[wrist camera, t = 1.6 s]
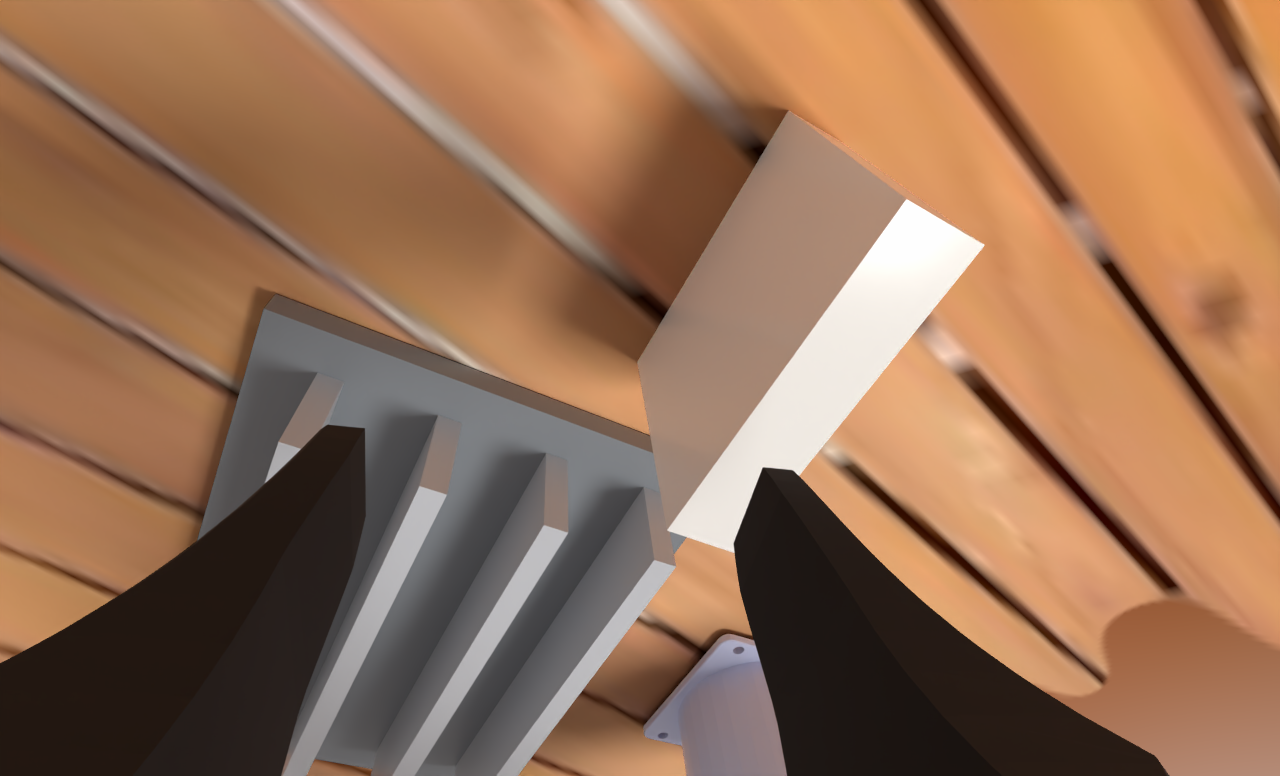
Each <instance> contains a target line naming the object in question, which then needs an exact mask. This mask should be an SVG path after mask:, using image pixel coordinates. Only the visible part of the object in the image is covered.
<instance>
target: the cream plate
mask: <svg viewBox="0 0 1280 776" xmlns="http://www.w3.org/2000/svg"><path fill="white" fill-rule="evenodd" d="M984 246H985V245H984V244H983V243H981V242H980V241H978V240H977V239H976V238H974V237H973V236H971V235H970V234H969V233H967V232H966V231H965V230H963V229H962V228H960V227H959V226H958V225H956V224H955V223H953V222H952V221H951V220H949V219H948V218H947V217H945V216H944V215H942V214H941V213H940V212H938V211H937V210H935V209H934V208H933V207H931V206H930V205H929V204H927V203H926V202H924V201H923V200H922V199H920V198H919V197H917V196H916V195H915V194H913V193H912V192H911V191H909V190H908V189H906V188H905V187H904V186H902V185H901V184H900V183H898V182H897V181H895V180H894V179H893V178H891V177H890V176H888V175H887V174H886V173H884V172H883V171H882V170H880V169H879V168H877V167H876V166H875V165H873V164H872V163H870V162H869V161H868V160H866V159H865V158H864V157H862V156H861V155H859V154H858V153H857V152H855V151H854V150H852V149H851V148H850V147H848V146H847V145H846V144H844V143H842V142H841V141H839V140H837V139H836V138H834V137H832V136H831V135H829V134H827V133H826V132H824V131H822V130H821V129H819V128H817V127H816V126H814V125H812V124H811V123H809V122H807V121H806V120H804V119H802V118H801V117H799V116H797V115H796V114H794V113H792V112H791V111H789V110H788V112H787V114H786V115H785V117H784V119H783V120H782V122H781V124H780V125H779V127H778V129H777V130H776V132H775V134H774V135H773V137H772V139H771V140H770V142H769V143H768V145H767V147H766V148H765V150H764V152H763V153H762V155H761V157H760V158H759V160H758V162H757V163H756V165H755V167H754V168H753V170H752V172H751V173H750V175H749V177H748V178H747V180H746V182H745V183H744V185H743V187H742V188H741V190H740V192H739V193H738V195H737V197H736V198H735V200H734V202H733V203H732V205H731V207H730V208H729V210H728V212H727V213H726V215H725V217H724V218H723V220H722V222H721V223H720V225H719V227H718V228H717V230H716V232H715V233H714V235H713V237H712V238H711V240H710V242H709V243H708V245H707V247H706V248H705V250H704V252H703V253H702V255H701V257H700V258H699V260H698V262H697V263H696V265H695V267H694V268H693V270H692V272H691V273H690V275H689V277H688V278H687V280H686V282H685V283H684V285H683V287H682V288H681V290H680V292H679V293H678V295H677V297H676V298H675V300H674V302H673V303H672V305H671V306H670V308H669V310H668V311H667V313H666V315H665V316H664V318H663V320H662V321H661V323H660V325H659V326H658V328H657V330H656V331H655V333H654V335H653V336H652V338H651V340H650V341H649V343H648V345H647V346H646V348H645V350H644V351H643V353H642V355H641V356H640V358H639V360H638V361H637V364H638V370H639V376H640V381H641V387H642V393H643V398H644V404H645V410H646V415H647V421H648V426H649V432H650V438H651V443H652V449H653V455H654V460H655V466H656V472H657V477H658V483H659V488H660V494H661V500H662V505H663V511H664V517H665V522H666V528H667V531H670V532H673V533H676V534H679V535H682V536H685V537H688V538H691V539H694V540H697V541H700V542H703V543H706V544H709V545H712V546H715V547H718V548H721V549H724V550H727V551H730V552H733V553H735V552H734V544H733V543H734V541H735V538H736V535H737V533H738V530H739V528H740V525H741V522H742V520H743V517H744V515H745V512H746V509H747V507H748V504H749V502H750V499H751V496H752V494H753V491H754V489H755V486H756V484H757V481H758V478H759V476H760V473H761V471H762V468H763V467H767V468H777V469H787V470H793V471H794V472H795V473H796V474H797V475H798V476H799V475H800V474H801V473H802V471H803V470H804V469H805V468H806V466H807V465H808V464H809V463H810V461H811V460H812V459H813V458H814V456H815V455H816V454H817V453H818V451H819V450H820V449H821V448H822V447H823V445H824V444H825V443H826V442H827V440H828V439H829V438H830V437H831V435H832V434H833V433H834V432H835V430H836V429H837V428H838V427H839V425H840V424H841V423H842V422H843V420H844V419H845V418H846V417H847V416H848V414H849V413H850V412H851V411H852V409H853V408H854V407H855V406H856V404H857V403H858V402H859V401H860V399H861V398H862V397H863V396H864V394H865V393H866V392H867V391H868V389H869V388H870V387H871V386H872V384H873V383H874V382H875V381H876V380H877V378H878V377H879V376H880V375H881V373H882V372H883V371H884V370H885V368H886V367H887V366H888V365H889V363H890V362H891V361H892V360H893V358H894V357H895V356H896V355H897V353H898V352H899V351H900V350H901V349H902V347H903V346H904V345H905V344H906V342H907V341H908V340H909V339H910V337H911V336H912V335H913V334H914V332H915V331H916V330H917V329H918V327H919V326H920V325H921V324H922V322H923V321H924V320H925V319H926V317H927V316H928V315H929V314H930V313H931V311H932V310H933V309H934V308H935V306H936V305H937V304H938V303H939V301H940V300H941V299H942V298H943V296H944V295H945V294H946V293H947V291H948V290H949V289H950V288H951V286H952V285H953V284H954V283H955V282H956V280H957V279H958V278H959V277H960V275H961V274H962V273H963V272H964V270H965V269H966V268H967V267H968V265H969V264H970V263H971V262H972V260H973V259H974V258H975V257H976V255H977V254H978V253H979V252H980V250H981V249H982V248H983V247H984Z"/></svg>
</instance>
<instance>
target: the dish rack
mask: <svg viewBox="0 0 1280 776" xmlns="http://www.w3.org/2000/svg"><path fill="white" fill-rule="evenodd" d="M326 425H337V426H348V427H358V428H365V473H366V518H365V522H364V526H363V530H362V534H361V539H360V543H359V547H358V551H357V555H356V558H355V562H354V566H353V570H352V572H351V575H350V578H349V581H348V583H347V586H346V588H345V591H344V594H343V596H342V599H341V602H340V604H339V607H338V610H337V612H336V615H335V617H334V620H333V622H332V625H331V628H330V630H329V633H328V635H327V638H326V641H325V643H324V646H323V648H322V651H321V654H320V656H319V659H318V661H317V664H316V666H315V669H314V672H313V674H312V677H311V679H310V682H309V685H308V687H307V690H306V693H305V696H304V699H303V702H302V705H301V708H300V711H299V714H298V717H297V721H296V724H295V728H294V731H293V735H292V739H291V742H290V746H289V750H288V753H287V757H286V760H285V764H284V768H283V771H282V775H281V776H306V775H307V773H308V771H309V769H310V767H311V765H312V763H313V761H314V759H318V760H324V761H329V762H335V763H341V764H346V765H352V766H358V767H364V768H369V769H372V773H371V776H518V775H519V773H520V772H521V771H522V769H523V768H524V767H525V765H526V764H527V763H528V761H529V760H530V759H531V757H532V756H533V755H534V754H535V752H536V751H537V750H538V748H539V747H540V746H541V744H542V743H543V742H544V740H545V739H546V738H547V736H548V735H549V734H550V732H551V731H552V730H553V728H554V727H555V726H556V725H557V723H558V722H559V721H560V719H561V718H562V717H563V715H564V714H565V713H566V711H567V710H568V709H569V707H570V706H571V705H572V703H573V702H574V701H575V699H576V698H577V697H578V695H579V694H580V693H581V692H582V690H583V689H584V688H585V686H586V685H587V684H588V682H589V681H590V680H591V678H592V677H593V676H594V674H595V673H596V672H597V670H598V669H599V668H600V666H601V665H602V664H603V663H604V661H605V660H606V659H607V657H608V656H609V655H610V653H611V652H612V651H613V649H614V648H615V647H616V645H617V644H618V643H619V641H620V640H621V639H622V637H623V636H624V635H625V633H626V632H627V631H628V630H629V628H630V627H631V626H632V624H633V623H634V622H635V620H636V619H637V618H638V616H639V615H640V614H641V612H642V611H643V610H644V608H645V607H646V606H647V604H648V603H649V602H650V601H651V599H652V598H653V597H654V595H655V594H656V593H657V591H658V590H659V589H660V587H661V586H662V585H663V583H664V582H665V581H666V579H667V578H668V577H669V575H670V574H671V573H672V571H673V570H674V569H675V568H676V563H675V558H674V553H675V552H676V551H677V549H678V548H679V547H680V545H681V544H682V543H683V541H684V540H685V539H686V537H685V536H682V535H679V534H676V533H673V532H670V531H667V528H666V522H665V517H664V511H663V505H662V500H661V494H660V488H659V483H658V477H657V472H656V466H655V460H654V455H653V449H652V443H651V438H650V436H649V435H646V434H643V433H641V432H638V431H636V430H633V429H630V428H628V427H625V426H622V425H620V424H617V423H615V422H612V421H609V420H607V419H604V418H601V417H599V416H596V415H593V414H591V413H588V412H586V411H583V410H580V409H578V408H575V407H572V406H570V405H567V404H565V403H562V402H559V401H557V400H554V399H551V398H549V397H546V396H543V395H541V394H538V393H536V392H533V391H530V390H528V389H525V388H522V387H520V386H517V385H515V384H512V383H509V382H507V381H504V380H501V379H499V378H496V377H493V376H491V375H488V374H486V373H483V372H480V371H478V370H475V369H472V368H470V367H467V366H465V365H462V364H459V363H457V362H454V361H451V360H449V359H446V358H443V357H441V356H438V355H436V354H433V353H430V352H428V351H425V350H422V349H420V348H417V347H414V346H412V345H409V344H407V343H404V342H401V341H399V340H396V339H393V338H391V337H388V336H386V335H383V334H380V333H378V332H375V331H372V330H370V329H367V328H364V327H362V326H359V325H357V324H354V323H351V322H349V321H346V320H343V319H341V318H338V317H336V316H333V315H330V314H328V313H325V312H322V311H320V310H317V309H314V308H312V307H309V306H307V305H304V304H301V303H299V302H296V301H293V300H291V299H288V298H286V297H283V296H280V295H278V294H275V295H274V296H273V298H272V299H271V300H270V301H269V303H268V304H267V305H266V306H265V308H264V309H263V313H262V316H261V320H260V323H259V327H258V330H257V334H256V337H255V341H254V344H253V348H252V351H251V355H250V358H249V362H248V365H247V369H246V372H245V375H244V379H243V382H242V386H241V389H240V393H239V396H238V400H237V403H236V407H235V410H234V414H233V417H232V421H231V424H230V428H229V431H228V435H227V438H226V442H225V445H224V449H223V452H222V456H221V459H220V463H219V466H218V470H217V473H216V476H215V480H214V483H213V487H212V490H211V494H210V497H209V501H208V504H207V508H206V511H205V515H204V518H203V522H202V525H201V529H200V532H199V536H198V539H197V540H199V539H200V538H201V537H202V536H204V535H205V534H206V533H207V532H209V531H210V530H211V529H212V528H214V527H215V526H216V525H217V524H218V523H220V522H221V521H222V520H223V519H225V518H226V517H227V516H228V515H230V514H231V513H232V512H233V511H234V510H236V509H237V508H238V507H239V506H240V505H241V504H243V503H244V502H245V501H246V500H247V499H248V498H249V497H250V496H252V495H253V494H254V493H255V492H256V491H257V490H258V489H259V488H260V487H262V486H263V485H264V484H265V483H266V482H267V481H268V480H269V479H270V478H271V477H273V476H274V475H275V474H276V473H277V472H278V471H279V470H280V469H281V468H282V467H283V466H284V465H285V464H286V463H287V462H288V461H289V460H290V459H291V458H292V457H293V456H294V455H295V454H297V453H298V452H299V451H300V450H301V449H302V448H303V447H304V446H305V444H306V443H307V442H308V441H309V440H310V439H311V438H312V437H313V436H314V435H315V434H316V433H317V432H318V431H319V430H320V429H322V428H323V427H324V426H326Z"/></svg>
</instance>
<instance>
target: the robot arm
mask: <svg viewBox="0 0 1280 776" xmlns="http://www.w3.org/2000/svg"><path fill="white" fill-rule="evenodd" d="M365 518H366V473H365V428H358V427H348V426H337V425H326V426H324V427H323V428H322V429H320V430H319V431H318V432H317V433H316V434H315V435H314V436H313V437H312V438H311V439H310V440H309V441H308V442H307V443H306V444H305V446H304V447H303V448H302V449H301V450H300V451H299V452H298V453H297V454H295V455H294V456H293V457H292V458H291V459H290V460H289V461H288V462H287V463H286V464H285V465H284V466H283V467H282V468H281V469H280V470H279V471H278V472H277V473H276V474H275V475H274V476H273V477H271V478H270V479H269V480H268V481H267V482H266V483H265V484H264V485H263V486H262V487H260V488H259V489H258V490H257V491H256V492H255V493H254V494H253V495H252V496H250V497H249V498H248V499H247V500H246V501H245V502H244V503H243V504H241V505H240V506H239V507H238V508H237V509H236V510H234V511H233V512H232V513H231V514H230V515H228V516H227V517H226V518H225V519H223V520H222V521H221V522H220V523H218V524H217V525H216V526H215V527H214V528H212V529H211V530H210V531H209V532H207V533H206V534H205V535H204V536H202V537H201V538H200V539H199V540H197V541H196V542H195V543H194V544H192V545H191V546H190V547H188V548H187V549H186V550H184V551H183V552H182V553H180V554H179V555H178V556H176V557H175V558H173V559H172V560H171V561H169V562H168V563H167V564H165V565H164V566H162V567H161V568H159V569H158V570H157V571H155V572H154V573H152V574H151V575H149V576H148V577H146V578H145V579H144V580H142V581H141V582H139V583H138V584H136V585H135V586H133V587H132V588H130V589H128V590H127V591H125V592H124V593H122V594H121V595H119V596H117V597H116V598H114V599H113V600H111V601H109V602H108V603H106V604H105V605H103V606H102V607H100V608H98V609H97V610H95V611H93V612H92V613H90V614H88V615H87V616H85V617H83V618H82V619H80V620H78V621H77V622H75V623H73V624H72V625H70V626H68V627H67V628H65V629H63V630H62V631H60V632H58V633H56V634H54V635H53V636H51V637H49V638H47V639H45V640H43V641H42V642H40V643H38V644H36V645H34V646H32V647H31V648H29V649H27V650H25V651H23V652H21V653H19V654H18V655H16V656H14V657H12V658H10V659H8V660H6V661H4V662H2V663H0V776H281V775H282V771H283V768H284V764H285V760H286V757H287V753H288V750H289V746H290V742H291V739H292V735H293V731H294V728H295V724H296V721H297V717H298V714H299V711H300V708H301V705H302V702H303V699H304V696H305V693H306V690H307V687H308V685H309V682H310V679H311V677H312V674H313V672H314V669H315V666H316V664H317V661H318V659H319V656H320V654H321V651H322V648H323V646H324V643H325V641H326V638H327V635H328V633H329V630H330V628H331V625H332V622H333V620H334V617H335V615H336V612H337V610H338V607H339V604H340V602H341V599H342V596H343V594H344V591H345V588H346V586H347V583H348V581H349V578H350V575H351V572H352V570H353V566H354V562H355V558H356V555H357V551H358V547H359V543H360V539H361V534H362V530H363V526H364V522H365ZM733 544H734V552H735V560H736V567H737V574H738V580H739V586H740V592H741V596H742V600H743V603H744V607H745V611H746V614H747V618H748V621H749V625H750V628H751V632H752V635H753V639H754V640H751V639H747V638H744V637H740V636H737V635H733V634H725V635H723V636H721V637H720V638H719V639H718V640H717V641H716V642H715V643H714V644H713V646H712V647H711V648H710V649H709V650H708V651H707V653H706V654H705V655H704V656H703V657H702V658H701V660H700V661H699V662H698V663H697V664H696V665H695V667H694V668H693V669H692V670H691V671H690V672H689V674H688V675H687V676H686V677H685V678H684V679H683V680H682V682H681V683H680V684H679V685H678V686H677V687H676V689H675V690H674V691H673V692H672V693H671V694H670V696H669V697H668V698H667V699H666V700H665V701H664V703H663V704H662V705H661V706H660V707H659V708H658V710H657V711H656V712H655V713H654V714H653V715H652V717H651V718H650V719H649V720H648V721H647V722H646V724H645V725H644V727H643V730H644V736H646V737H647V738H649V739H654V740H658V741H663V742H668V743H672V744H677V745H681V746H682V749H683V756H684V762H685V769H686V776H1169V775H1168V773H1167V772H1166V770H1165V769H1164V768H1163V766H1162V765H1161V763H1160V762H1159V760H1158V759H1157V758H1156V757H1155V756H1154V755H1152V754H1151V753H1149V752H1147V751H1145V750H1143V749H1141V748H1140V747H1138V746H1136V745H1134V744H1133V743H1131V742H1129V741H1127V740H1125V739H1124V738H1122V737H1120V736H1118V735H1116V734H1114V733H1113V732H1111V731H1109V730H1107V729H1106V728H1103V727H1102V726H1100V725H1098V724H1097V723H1095V722H1093V721H1091V720H1089V719H1088V718H1086V717H1084V716H1082V715H1081V714H1079V713H1077V712H1076V711H1074V710H1073V709H1071V708H1069V707H1068V706H1066V705H1065V704H1063V703H1061V702H1060V701H1058V700H1057V699H1055V698H1053V697H1052V696H1050V695H1049V694H1047V693H1045V692H1044V691H1042V690H1041V689H1039V688H1037V687H1036V686H1034V685H1033V684H1031V683H1030V682H1028V681H1027V680H1025V679H1024V678H1022V677H1021V676H1019V675H1018V674H1016V673H1015V672H1014V671H1012V670H1011V669H1009V668H1008V667H1006V666H1005V665H1004V664H1002V663H1001V662H1000V661H998V660H997V659H995V658H994V657H993V656H991V655H990V654H988V653H987V652H986V651H984V650H983V649H981V648H980V647H979V646H977V645H976V644H975V643H973V642H972V641H971V640H969V639H968V638H967V637H966V636H964V635H963V634H962V633H960V632H959V631H958V630H957V629H955V628H954V627H953V626H952V625H951V624H949V623H948V622H947V621H946V620H944V619H943V618H942V617H941V616H940V615H938V614H937V613H936V612H935V611H934V610H932V609H931V608H930V607H929V606H928V605H926V604H925V603H924V602H923V601H922V600H921V599H920V598H918V597H917V596H916V595H915V594H914V593H913V592H912V591H911V590H910V589H908V588H907V587H906V586H905V585H904V584H903V583H902V582H901V581H900V580H899V579H898V578H897V577H896V576H895V575H894V574H893V573H891V572H890V571H889V570H888V569H887V568H886V567H885V566H884V565H883V564H882V563H881V562H880V561H879V560H878V559H877V558H876V557H875V556H874V555H873V554H872V553H871V552H870V551H869V550H868V549H867V548H866V547H865V546H864V545H863V544H862V543H861V542H860V541H859V540H858V539H857V537H856V536H855V535H854V534H853V533H852V532H851V531H850V530H849V529H848V528H847V527H846V526H845V525H844V524H843V523H842V522H841V521H840V519H839V518H838V517H837V516H836V515H835V514H834V513H833V512H832V511H831V510H830V509H829V508H828V506H827V505H826V504H825V503H824V502H823V501H822V500H821V499H820V498H819V497H818V496H817V495H816V493H815V492H814V491H813V490H812V489H811V488H810V487H809V486H808V485H807V484H806V483H805V482H804V481H803V480H802V479H801V478H800V477H799V476H798V475H797V474H796V473H795V472H794V471H793V470H787V469H777V468H767V467H763V468H762V471H761V473H760V476H759V478H758V481H757V484H756V486H755V489H754V491H753V494H752V496H751V499H750V502H749V504H748V507H747V509H746V512H745V515H744V517H743V520H742V522H741V525H740V528H739V530H738V533H737V535H736V538H735V541H734V543H733Z"/></svg>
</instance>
